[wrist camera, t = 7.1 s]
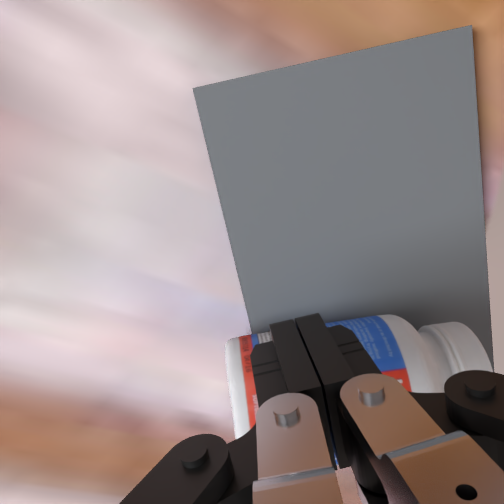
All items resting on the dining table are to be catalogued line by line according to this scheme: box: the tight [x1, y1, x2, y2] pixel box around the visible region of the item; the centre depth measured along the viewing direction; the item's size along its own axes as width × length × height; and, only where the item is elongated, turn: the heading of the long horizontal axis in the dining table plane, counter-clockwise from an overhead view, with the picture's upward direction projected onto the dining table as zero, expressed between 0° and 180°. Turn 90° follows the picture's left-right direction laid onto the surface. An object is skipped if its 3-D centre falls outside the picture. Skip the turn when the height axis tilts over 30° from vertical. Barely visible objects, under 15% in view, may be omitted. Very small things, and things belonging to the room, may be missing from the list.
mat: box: [193, 25, 494, 372], centre depth 20 cm, size 18×11×1 cm, turn 12°
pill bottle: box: [225, 314, 493, 465], centre depth 18 cm, size 6×5×10 cm
